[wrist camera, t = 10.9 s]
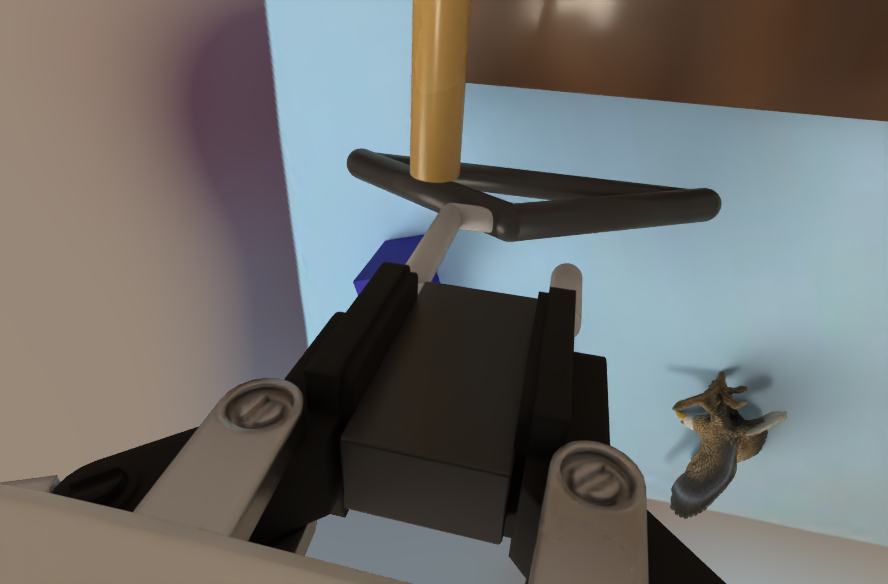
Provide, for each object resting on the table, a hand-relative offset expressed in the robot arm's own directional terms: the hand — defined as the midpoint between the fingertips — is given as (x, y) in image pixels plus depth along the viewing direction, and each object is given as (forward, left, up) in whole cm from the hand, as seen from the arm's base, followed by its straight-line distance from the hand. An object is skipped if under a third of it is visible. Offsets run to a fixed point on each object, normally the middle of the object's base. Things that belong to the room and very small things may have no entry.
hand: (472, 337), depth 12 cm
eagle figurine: (-14, +20, -23) cm, 33 cm away
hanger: (0, 0, -11) cm, 11 cm away
